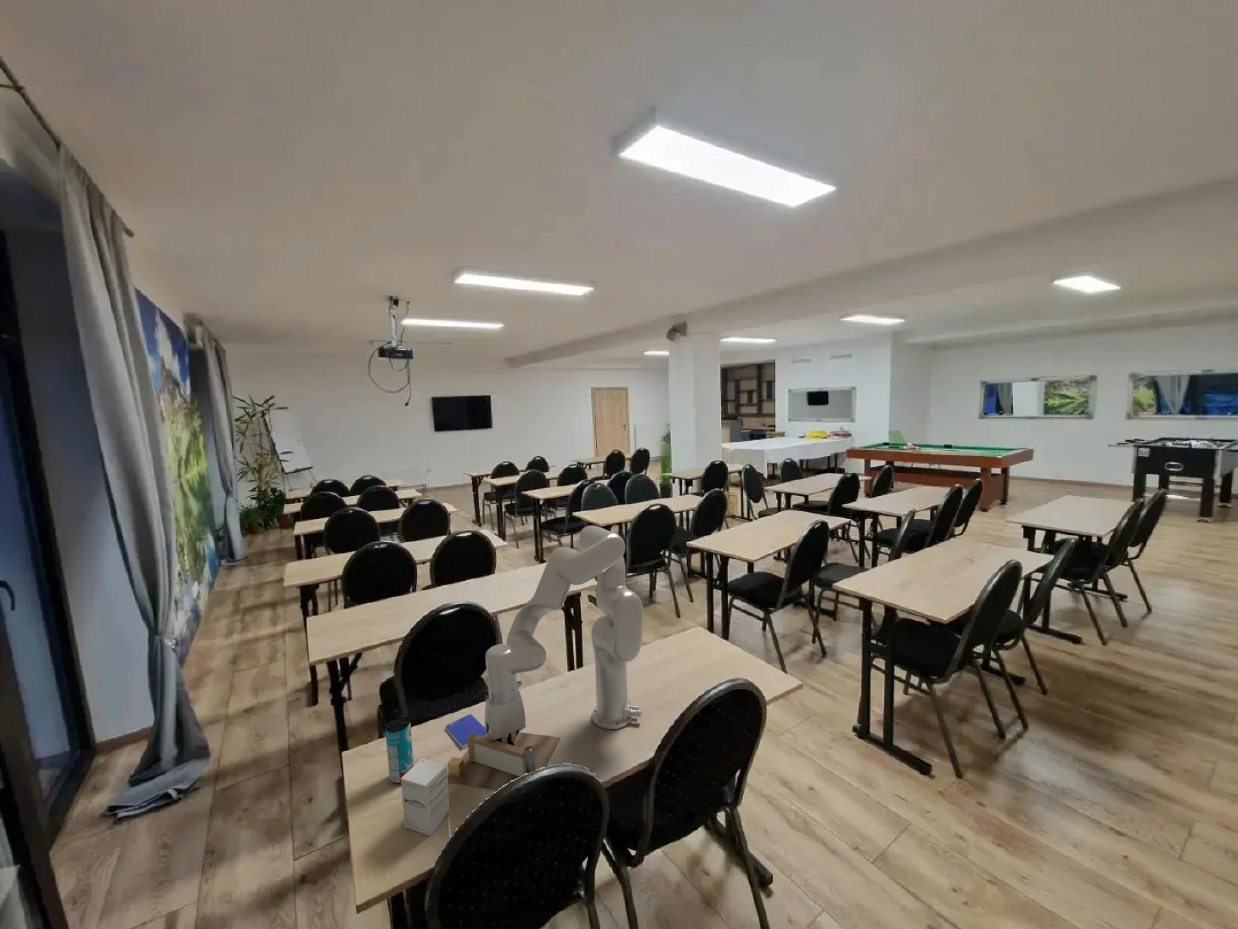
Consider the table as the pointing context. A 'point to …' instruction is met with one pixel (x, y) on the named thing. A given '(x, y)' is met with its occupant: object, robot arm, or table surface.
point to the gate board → (497, 778)
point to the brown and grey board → (497, 755)
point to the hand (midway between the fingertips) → (508, 755)
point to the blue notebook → (465, 729)
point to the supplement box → (425, 796)
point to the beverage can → (399, 748)
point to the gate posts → (458, 764)
